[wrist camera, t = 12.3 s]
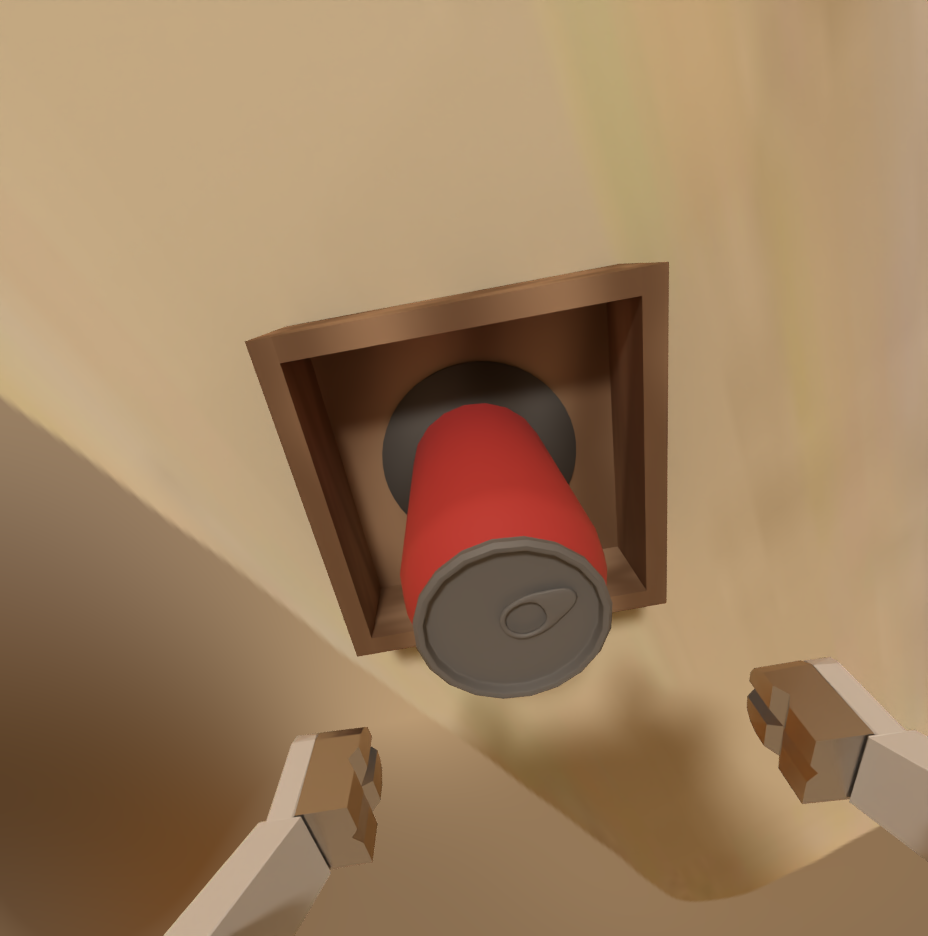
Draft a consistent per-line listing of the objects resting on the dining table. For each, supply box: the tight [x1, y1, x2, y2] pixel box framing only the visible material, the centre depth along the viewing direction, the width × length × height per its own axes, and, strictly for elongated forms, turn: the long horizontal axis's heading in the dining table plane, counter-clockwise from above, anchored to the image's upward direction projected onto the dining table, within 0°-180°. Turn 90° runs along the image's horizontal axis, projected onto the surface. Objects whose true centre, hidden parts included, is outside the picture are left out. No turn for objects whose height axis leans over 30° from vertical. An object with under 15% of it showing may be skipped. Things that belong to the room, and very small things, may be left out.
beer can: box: [400, 403, 613, 699], centre depth 18 cm, size 7×7×12 cm
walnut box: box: [245, 262, 669, 656], centre depth 22 cm, size 16×16×5 cm
